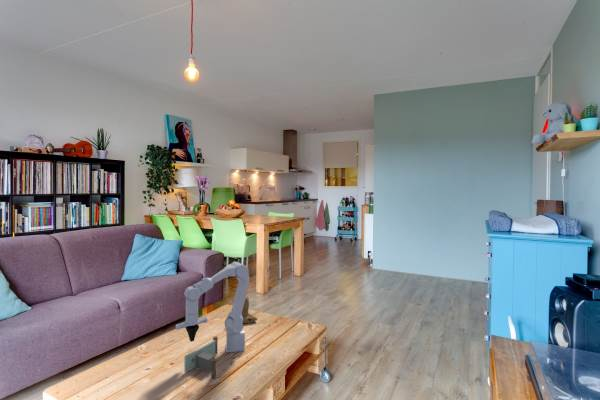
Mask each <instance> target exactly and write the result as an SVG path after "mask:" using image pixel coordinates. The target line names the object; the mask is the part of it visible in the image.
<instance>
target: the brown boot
mask: <svg viewBox="0 0 600 400" xmlns="http://www.w3.org/2000/svg"><path fill="white" fill-rule="evenodd" d="M234 299H235V297H234V298H233V299H232V304H233V303H234ZM249 308H250V300H249V297H248V296H247V295H246V298H245V302H244V306H243V310H242V317H243V323H244V324H252V323H254V322H256V321H257V320H258V317H256V316H254V315H253V314H251V313H249Z"/></svg>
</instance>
